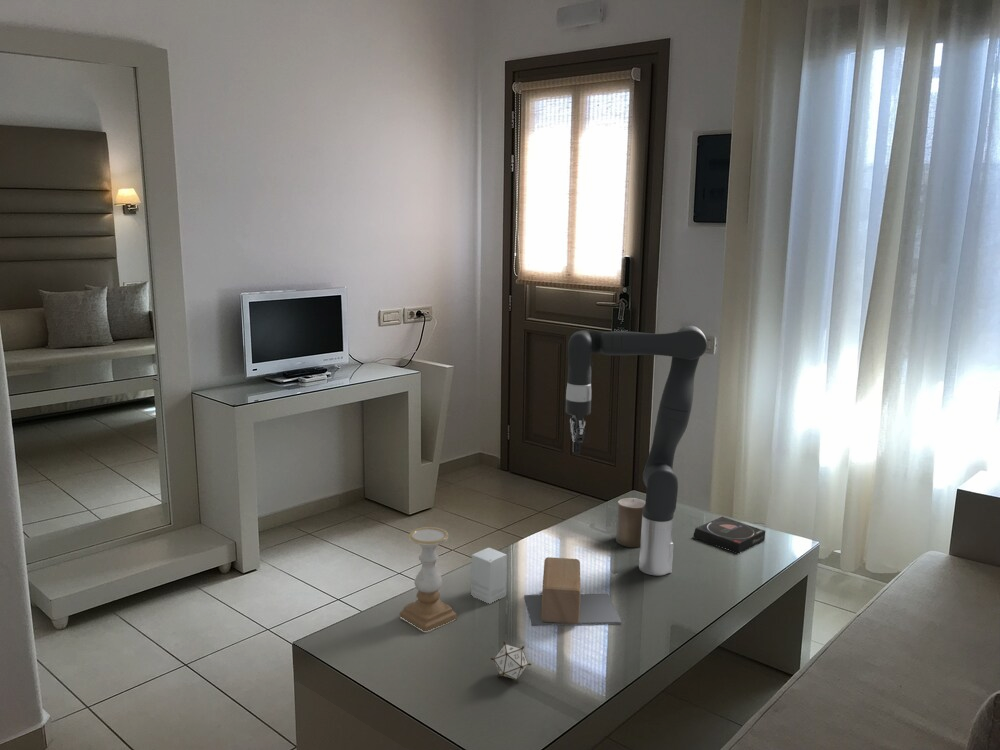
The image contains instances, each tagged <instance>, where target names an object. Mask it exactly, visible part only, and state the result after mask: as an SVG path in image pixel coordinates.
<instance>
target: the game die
mask: <svg viewBox="0 0 1000 750" xmlns="http://www.w3.org/2000/svg"><path fill="white" fill-rule="evenodd" d="M524 649H525V645H523V646H521V647H520V646H519V647H518V646H515V645H511V644H507V642H506V641H505V640H503V645H502V647H501V649H500V650H499V651H498V652H497V654H496V655H495V656H494V657H490V660H491V661H493V662H494V664H495V666H496V669H497V672H498V675H497V677H498V678H500V677H505V678H509V679H513V680H515V681H516V682H515V683H517V684H519V681H520V680H519V678H520V676H521V675H522V674H523V673H524V671H525V670H526V669H527V667H528V666H532V664H531V663H529V662H528V659H527V657H526V655H525V652H524Z"/></svg>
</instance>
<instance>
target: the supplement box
mask: <svg viewBox="0 0 1000 750" xmlns="http://www.w3.org/2000/svg"><path fill="white" fill-rule="evenodd" d="M470 566H471V569H470V570H471V571H470V572H471V575H470V576H471V577H470V578H471V579H470V580H471V581H470V583H471V584H470V585H471V588H470V591H471V593H470V594H471V595H472V596H474V597H473V598H475V597H476V598H475V599H477V598H478V599H477V600H479V599H480V600H479V601H481V600H482V601H481V602H483V601H484V603H485V602H486V604H488V603H489V604H488V605H491V604H493V603H495V602H497V601H499V600H501V599H503V598H505V597H507V580H508V574H507V573H508V569H507V568H508V567H507V566H508V554H506V553H503V552H501V551H499V550H496V549H494V548H491V547H487V548H484V549H481V550H479V551H478V552H475V553H473V554H471V565H470ZM471 595H470V596H471ZM472 596H471V597H472ZM498 599H499V600H498ZM496 600H497V601H496ZM494 601H495V602H494ZM492 602H493V603H492ZM490 603H491V604H490Z"/></svg>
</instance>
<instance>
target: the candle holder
mask: <svg viewBox="0 0 1000 750" xmlns="http://www.w3.org/2000/svg"><path fill="white" fill-rule="evenodd" d="M408 535H409V536H408V538H409V541H411V542H412V543H413V544H415V545H419V546H420V547H421V553H420V554H419V555H418V560H419V561H420V563H421V568H420V570H419V571H418V572H417V574H416V575H415V579H414V586H415V588H416V589H417V590H418V591H417V592H416V598H417V600H415V601H413V602H411V603H409V604H407V605H405V606H403V609H402V610H401V611H400V612H399V618H400V617H402V618H404V619H405V620H407V621H408V622H410V623H412V624H413V625H415V626H416V627H418V628H420V629H422V630H423V631H428V630H431V629H433V628H436V627H438V626H441V625H443V624H446V623H448V622H450V621H452V620H454V619H456V620H457V612H455V611H453V608H452V606H450V605H449V604H447V603H445V602H444V601H442V600H441V599H440V597H441V594H440V591H439V590H440V588H442V586H443V578H442V576H441V574H440V572H439V571H438V569H437V568H436V563H437V561H439V559H440V558H439V555H438V554H437V552H436V549H437V547H438V545H441V544H443V543H446V542H447V540H448V538H449V533H448V531H446V530H445V529H443V528H440V527H434V526H423V527H418V528H416V529H413V530H411V532H410V533H409V534H408ZM446 625H447V624H446Z"/></svg>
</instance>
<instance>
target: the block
mask: <svg viewBox="0 0 1000 750" xmlns="http://www.w3.org/2000/svg"><path fill="white" fill-rule="evenodd" d="M543 563H544V564H543V576H542V577H543V578H542V588H541V589H542V590H541V591H542V592H541V595H542V611H541V618H542V621H544V622H554V623H569V624H577V623H578V622H579V617H580V597H581V594H582V586H581V562H580V560H579V559H578V558H565V557H550V556H548V557H545V558H544V561H543Z"/></svg>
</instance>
